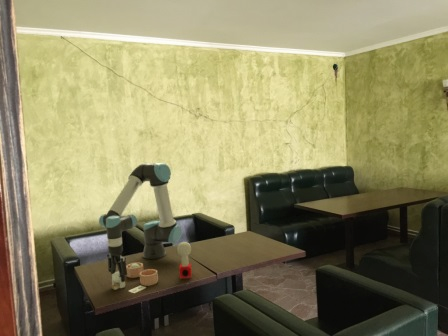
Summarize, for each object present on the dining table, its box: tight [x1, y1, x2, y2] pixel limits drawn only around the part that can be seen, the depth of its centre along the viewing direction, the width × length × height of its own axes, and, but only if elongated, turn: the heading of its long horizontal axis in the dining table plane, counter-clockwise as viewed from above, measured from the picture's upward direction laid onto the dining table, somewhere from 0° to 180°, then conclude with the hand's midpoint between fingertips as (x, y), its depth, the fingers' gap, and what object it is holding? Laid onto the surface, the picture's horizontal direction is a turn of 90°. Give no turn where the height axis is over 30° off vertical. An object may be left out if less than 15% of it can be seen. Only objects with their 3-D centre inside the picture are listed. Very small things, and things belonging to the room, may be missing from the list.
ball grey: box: [111, 270, 120, 283], centre depth 201 cm, size 6×6×6 cm
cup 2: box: [139, 268, 159, 287], centre depth 205 cm, size 9×9×6 cm
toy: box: [176, 241, 193, 279], centre depth 211 cm, size 8×8×20 cm
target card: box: [128, 284, 147, 294], centre depth 197 cm, size 5×8×1 cm, turn 142°
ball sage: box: [130, 264, 140, 268], centre depth 218 cm, size 6×6×6 cm
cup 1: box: [126, 262, 145, 279], centre depth 218 cm, size 9×9×6 cm
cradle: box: [111, 281, 127, 290], centre depth 202 cm, size 3×7×3 cm, turn 142°
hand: (118, 285), depth 202 cm, fingers closed on ball grey, 6 cm apart
